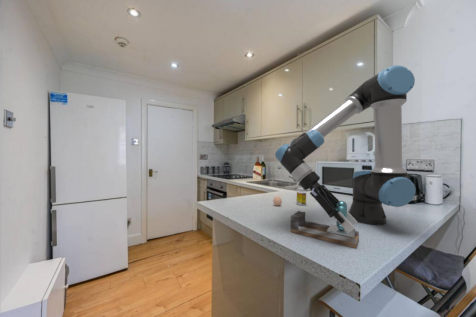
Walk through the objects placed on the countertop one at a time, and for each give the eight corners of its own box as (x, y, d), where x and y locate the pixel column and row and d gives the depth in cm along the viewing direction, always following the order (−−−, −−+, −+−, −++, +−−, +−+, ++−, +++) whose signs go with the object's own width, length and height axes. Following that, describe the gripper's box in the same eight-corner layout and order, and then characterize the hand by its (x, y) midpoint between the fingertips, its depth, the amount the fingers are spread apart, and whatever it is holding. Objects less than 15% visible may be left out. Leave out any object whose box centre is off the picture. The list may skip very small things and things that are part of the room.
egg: (276, 204, 120) (276, 194, 120) (283, 205, 117) (283, 196, 117) (271, 205, 117) (271, 195, 117) (278, 207, 113) (278, 197, 113)
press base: (290, 232, 76) (290, 215, 76) (298, 226, 82) (298, 211, 82) (356, 248, 63) (356, 228, 63) (358, 239, 69) (359, 221, 69)
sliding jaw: (326, 235, 69) (327, 201, 68) (331, 229, 74) (331, 197, 74) (353, 241, 64) (353, 204, 64) (355, 234, 69) (355, 200, 69)
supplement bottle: (302, 206, 116) (302, 189, 116) (294, 204, 121) (294, 187, 121) (307, 204, 119) (308, 188, 119) (300, 203, 124) (300, 187, 124)
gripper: (306, 180, 86) (347, 225, 76) (289, 185, 70) (339, 242, 61) (319, 169, 83) (364, 214, 73) (304, 171, 67) (359, 229, 57)
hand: (352, 227), depth 67 cm, fingers open, 7 cm apart
